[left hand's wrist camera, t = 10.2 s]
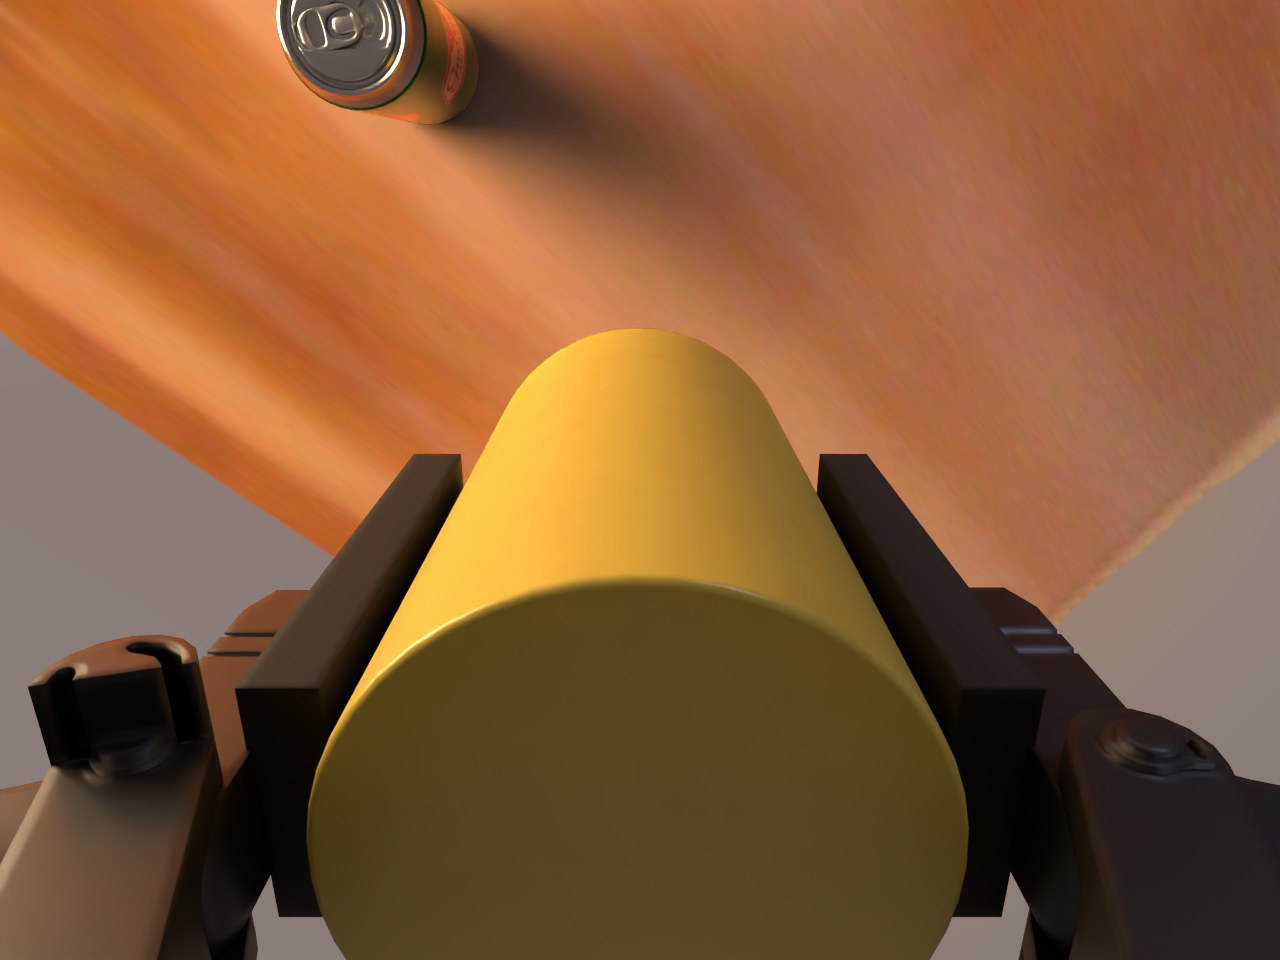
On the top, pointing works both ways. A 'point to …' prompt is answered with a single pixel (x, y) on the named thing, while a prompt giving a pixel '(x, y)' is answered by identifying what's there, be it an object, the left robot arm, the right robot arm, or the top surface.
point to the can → (637, 702)
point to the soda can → (382, 56)
